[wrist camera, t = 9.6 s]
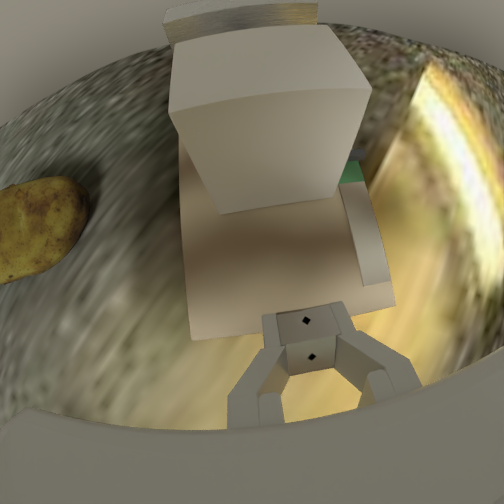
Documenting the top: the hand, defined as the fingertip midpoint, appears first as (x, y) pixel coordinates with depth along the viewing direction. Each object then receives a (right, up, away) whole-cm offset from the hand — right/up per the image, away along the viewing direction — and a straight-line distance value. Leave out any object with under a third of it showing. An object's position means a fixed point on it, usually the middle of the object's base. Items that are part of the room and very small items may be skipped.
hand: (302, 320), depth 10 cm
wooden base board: (-1, +8, +9) cm, 12 cm away
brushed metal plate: (-2, +17, +10) cm, 20 cm away
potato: (-20, +3, +10) cm, 22 cm away
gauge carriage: (0, +10, +8) cm, 12 cm away
